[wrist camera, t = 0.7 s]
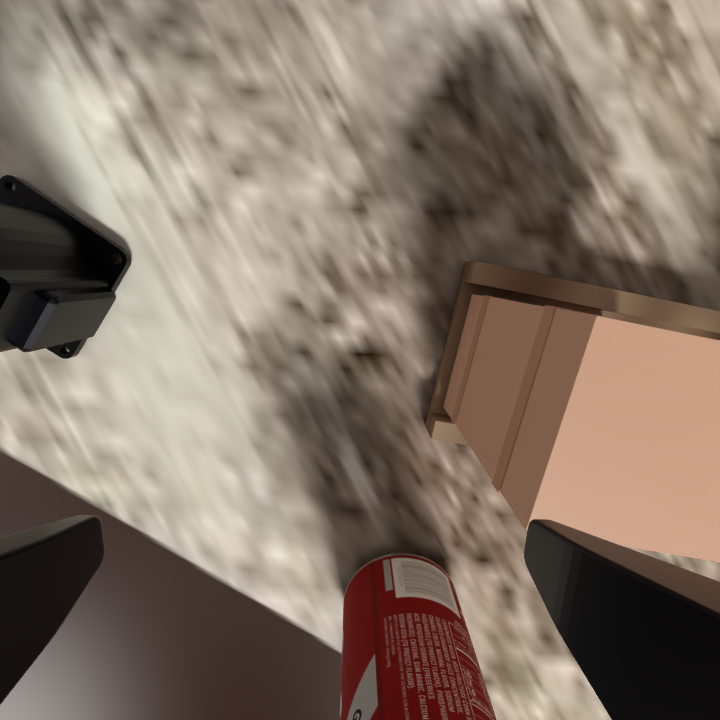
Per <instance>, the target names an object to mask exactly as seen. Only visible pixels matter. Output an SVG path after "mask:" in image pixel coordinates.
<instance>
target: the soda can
mask: <svg viewBox="0 0 720 720" xmlns="http://www.w3.org/2000/svg"><path fill="white" fill-rule="evenodd" d="M340 720H496V717H495V713H494V710H493V707H492V704H491V701H490V698H489V695H488V692H487V688H486V685H485V682H484V679H483V676H482V673H481V670H480V667H479V663H478V660H477V657H476V654H475V651H474V648H473V645H472V642H471V638H470V635H469V632H468V629H467V626H466V623H465V620H464V617H463V613H462V610H461V607H460V604H459V601H458V598H457V595H456V592H455V588H454V585H453V583H452V581H451V579H450V577H449V576H448V574H447V573H446V572H445V571H444V570H443V568H442V567H440V566H439V565H438V564H437V563H435V562H434V561H432V560H430V559H428V558H426V557H423V556H420V555H416V554H411V553H392V554H387V555H383V556H380V557H377V558H375V559H373V560H371V561H369V562H368V563H366V564H365V565H363V566H362V567H361V568H360V569H359V570H357V572H356V573H355V574H354V575H353V576H352V578H351V579H350V581H349V583H348V585H347V587H346V591H345V595H344V608H343V641H342V674H341V707H340Z"/></svg>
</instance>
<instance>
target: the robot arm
mask: <svg viewBox="0 0 720 720" xmlns="http://www.w3.org/2000/svg"><path fill="white" fill-rule="evenodd" d="M13 184H15V186H16V189H15V191H14V192H13V190H12V185H13ZM118 254H119V255H120V256H121V258H122V261H121V263H120V264H119V263H118V262H117V261H116V256H117V255H118ZM130 265H131V256H130V254H129V253H128V252H127V251H126V250H124V249H123V248H121V247H120V246H118V245H117V244H116V243H114V242H113V241H111V240H110V239H108V238H107V237H105V236H104V235H102V234H101V233H100V232H98V231H97V230H95V229H94V228H92V227H91V226H89V225H88V224H86V223H85V222H83V221H82V220H81V219H79V218H78V217H76V216H75V215H73V214H72V213H70V212H69V211H67V210H66V209H64V208H63V207H62V206H60V205H59V204H57V203H56V202H54V201H53V200H51V199H50V198H48V197H47V196H46V195H44V194H43V193H41V192H40V191H38V190H37V189H35V188H34V187H32V186H31V185H29V184H28V183H27V182H25V181H24V180H22V179H20V178H18V177H14V176H11V175H6V176H3V177H2V178H1V179H0V352H2V351H7V350H11V349H16V348H17V349H19V350H21V351H22V352H30V351H35V350H39V349H44V348H46V349H48V350H50V351H51V352H53V353H54V354H56V355H58V356H59V357H61V358H66V359H68V358H71V357H74V356H77V355H78V353H79V352H80V350H81V349H82V347H83V345H84V343H85V342H86V340H87V338H89V337H93V336H94V335H95V333H96V331H97V330H98V328H99V326H100V324H101V323H102V321H103V319H104V318H105V316H106V314H107V313H108V311H109V309H110V307H111V306H112V304H113V302H114V301H115V299H116V295H115V291H116V289H117V287H118V286H119V284H120V282H121V280H122V279H123V277H124V275H125V274H126V272H127V270H128V268H129V267H130ZM65 345H67V346H68V347H69V349H70V350H69V352H68V351H67V350H66V349H65ZM104 554H105V548H104V540H103V532H102V524H101V520H100V518H98V517H97V516H87V515H86V516H85V515H83V516H82V515H80V516H74V517H70V518H67V519H64V520H60V521H57V522H53V523H50V524H47V525H43V526H40V527H36V528H33V529H30V530H26V531H23V532H20V533H16V534H13V535H10V536H6V537H3V538H0V704H1V703H2V702H3V701H4V699H5V698H6V697H7V695H8V694H9V693H10V692H11V690H12V689H13V688H14V687H15V685H16V684H17V683H18V681H19V680H20V679H21V678H22V676H23V675H24V674H25V672H26V671H27V670H28V668H29V667H30V666H31V665H32V664H33V662H34V661H35V660H36V659H37V657H38V656H39V655H40V653H41V652H42V651H43V650H44V648H45V647H46V646H47V644H48V643H49V642H50V640H51V639H52V638H53V637H54V635H55V634H56V632H57V631H58V630H59V628H60V627H61V625H62V624H63V622H64V621H65V619H66V618H67V616H68V615H69V613H70V612H71V610H72V609H73V607H74V606H75V604H76V602H77V601H78V600H79V598H80V596H81V595H82V593H83V592H84V590H85V589H86V587H87V586H88V584H89V583H90V581H91V580H92V578H93V577H94V575H95V573H96V572H97V570H98V569H99V567H100V565H101V564H102V561H103V559H104ZM524 558H525V563H526V566H527V568H528V570H529V572H530V574H531V577H532V579H533V581H534V583H535V585H536V587H537V589H538V591H539V593H540V595H541V597H542V599H543V601H544V603H545V606H546V608H547V610H548V612H549V614H550V616H551V618H552V620H553V622H554V624H555V626H556V628H557V630H558V631H559V633H560V635H561V636H562V638H563V640H564V642H565V643H566V645H567V647H568V648H569V650H570V652H571V653H572V655H573V657H574V658H575V660H576V661H577V663H578V665H579V666H580V668H581V670H582V671H583V673H584V675H585V676H586V678H587V680H588V681H589V683H590V684H591V686H592V688H593V689H594V691H595V693H596V694H597V696H598V698H599V699H600V701H601V703H602V704H603V706H604V708H605V709H606V711H607V712H608V714H609V716H610V717H611V719H612V720H720V582H719V581H716V580H713V579H710V578H708V577H705V576H702V575H700V574H697V573H694V572H691V571H689V570H686V569H683V568H681V567H678V566H675V565H672V564H670V563H667V562H664V561H661V560H659V559H656V558H653V557H651V556H648V555H645V554H642V553H640V552H637V551H634V550H632V549H629V548H626V547H623V546H621V545H618V544H615V543H612V542H610V541H607V540H604V539H602V538H599V537H596V536H593V535H591V534H588V533H585V532H582V531H580V530H577V529H574V528H572V527H569V526H566V525H563V524H561V523H558V522H555V521H553V520H548V519H533V520H531V521H530V523H529V525H528V531H527V537H526V543H525V550H524Z"/></svg>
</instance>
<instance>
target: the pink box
mask: <svg viewBox="0 0 720 720" xmlns="http://www.w3.org/2000/svg"><path fill="white" fill-rule="evenodd" d="M443 407H444V409H445V410H446V411H447V413H448V414H449V416H450V417H451V422H452V423H453V425H454V426H457V428H458V429H459V431H460V432H461V434H462V435H463V437H464V438H465V440H466V441H467V443H468V444H469V446H470V447H471V449H472V450H473V452H474V453H475V455H476V456H477V458H478V459H479V461H480V462H481V464H482V465H483V467H484V468H485V470H486V471H487V473H488V474H489V476H490V477H491V479H492V480H493V481H492V484H493V485H494V487H495V488H496V490H497V491H498V493H502V495H503V496H504V498H505V499H506V501H507V502H508V504H509V505H510V507H511V508H512V510H513V511H514V513H515V514H516V516H517V517H518V519H519V520H520V522H521V523H522V525H523V526H524V528H525V529H526V530H528V525H529V523H530V521H531V520H533V519H548V520H553V521H555V522H558V523H561V524H563V525H566V526H569V527H572V528H574V529H577V530H580V531H582V532H585V533H588V534H591V535H593V536H596V537H599V538H602V539H604V540H607V541H610V542H612V543H615V544H618V545H621V546H625V547H631V548H637V549H643V550H649V551H655V552H661V553H667V554H673V555H679V556H685V557H691V558H697V559H703V560H709V561H715V562H720V340H717V339H712V338H707V337H702V336H697V335H692V334H688V333H683V332H678V331H673V330H668V329H663V328H658V327H653V326H648V325H643V324H638V323H633V322H628V321H623V320H618V319H614V318H609V317H604V316H599V315H594V314H589V313H584V312H579V311H574V310H569V309H564V308H559V307H554V306H548V305H545V307H544V306H538V305H532V304H527V303H522V302H517V301H512V300H507V299H502V298H498V297H493V296H487V295H484V296H480V295H475V294H472V297H471V301H470V305H469V308H468V312H467V316H466V320H465V324H464V328H463V332H462V336H461V340H460V343H459V347H458V351H457V355H456V359H455V363H454V367H453V371H452V375H451V379H450V382H449V386H448V390H447V394H446V398H445V402H444V406H443Z"/></svg>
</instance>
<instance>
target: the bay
mask: <svg viewBox="0 0 720 720" xmlns="http://www.w3.org/2000/svg"><path fill="white" fill-rule="evenodd" d="M472 294H475V295H480V296H484V295H487V296H493V297H498V298H502V299H507V300H512V301H517V302H522V303H527V304H532V305H538V306H544V307H545V305H548V306H554V307H559V308H564V309H569V310H574V311H579V312H584V313H589V314H594V315H599V316H604V317H609V318H614V319H618V320H623V321H628V322H633V323H638V324H643V325H648V326H653V327H658V328H663V329H668V330H673V331H678V332H683V333H688V334H692V335H697V336H702V337H707V338H712V339H717V340H720V311H716V310H711V309H707V308H702V307H697V306H692V305H687V304H683V303H678V302H673V301H668V300H663V299H658V298H654V297H649V296H644V295H639V294H634V293H629V292H625V291H620V290H615V289H610V288H605V287H601V286H596V285H591V284H586V283H581V282H576V281H572V280H567V279H562V278H557V277H552V276H547V275H543V274H538V273H533V272H528V271H523V270H519V269H514V268H509V267H504V266H499V265H494V264H490V263H485V262H480V261H470V262H465V266H464V270H463V274H462V278H461V282H460V286H459V290H458V294H457V298H456V302H455V306H454V310H453V314H452V318H451V322H450V326H449V330H448V334H447V338H446V342H445V346H444V350H443V354H442V358H441V362H440V366H439V370H438V375H437V379H436V383H435V387H434V391H433V395H432V399H431V403H430V407H429V411H428V415H427V419H426V423H425V427H426V429H427V431H428V433H429V435H430V437H431V439H435V440H440V441H446V442H452V443H457V444H463V445H469V444H468V443H467V441H466V440H465V438H464V437H463V435H462V434H461V432H460V431H459V429H458V428H457V426H454V425H453V423H452V422H451V417H450V416H449V414H448V413H447V411H446V410H445V409H444V407H443V406H444V402H445V398H446V394H447V390H448V386H449V382H450V379H451V375H452V371H453V367H454V363H455V359H456V355H457V351H458V347H459V343H460V340H461V336H462V332H463V328H464V324H465V320H466V316H467V312H468V308H469V305H470V301H471V297H472Z"/></svg>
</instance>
